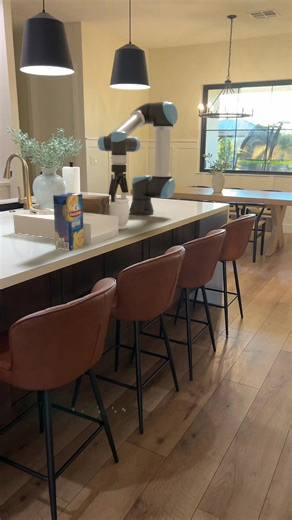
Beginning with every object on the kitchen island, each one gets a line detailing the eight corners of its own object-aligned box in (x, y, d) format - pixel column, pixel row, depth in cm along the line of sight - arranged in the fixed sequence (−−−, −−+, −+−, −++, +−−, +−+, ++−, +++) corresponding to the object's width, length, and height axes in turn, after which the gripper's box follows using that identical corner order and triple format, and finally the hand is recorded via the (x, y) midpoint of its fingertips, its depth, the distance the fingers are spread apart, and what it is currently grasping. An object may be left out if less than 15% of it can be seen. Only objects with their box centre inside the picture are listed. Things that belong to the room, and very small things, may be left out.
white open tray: (118, 236, 196) (118, 216, 193) (91, 245, 177) (90, 224, 174) (45, 226, 216) (44, 208, 213) (14, 233, 197) (13, 214, 195)
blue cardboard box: (83, 245, 176) (82, 193, 170) (69, 251, 166) (67, 196, 160) (70, 243, 178) (68, 192, 172) (55, 249, 168) (53, 195, 162)
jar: (109, 225, 217) (108, 197, 212) (128, 225, 217) (128, 197, 213) (109, 230, 206) (108, 200, 202) (129, 230, 207) (129, 200, 203)
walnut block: (85, 222, 224) (85, 194, 220) (110, 224, 220) (109, 196, 216) (73, 227, 211) (72, 197, 207) (98, 229, 207) (98, 199, 203)
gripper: (121, 163, 216) (121, 203, 221) (101, 164, 193) (101, 209, 198) (134, 163, 213) (134, 204, 219) (116, 165, 190) (116, 210, 196)
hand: (118, 206), depth 209 cm, fingers open, 13 cm apart
